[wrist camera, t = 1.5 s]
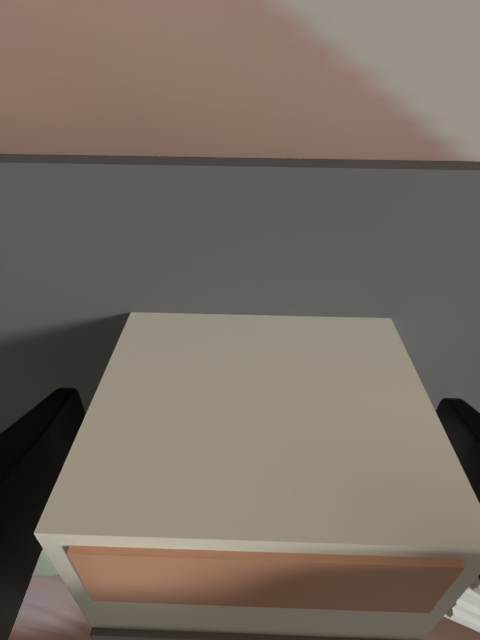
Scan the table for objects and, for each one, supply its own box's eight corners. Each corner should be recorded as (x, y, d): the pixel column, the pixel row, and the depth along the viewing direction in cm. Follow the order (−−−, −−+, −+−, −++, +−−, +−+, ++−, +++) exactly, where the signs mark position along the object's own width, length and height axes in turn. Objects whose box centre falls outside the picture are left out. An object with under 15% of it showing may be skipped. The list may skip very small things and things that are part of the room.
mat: (428, 562, 18) (436, 587, 17) (-38, 546, 18) (-52, 570, 17) (688, 165, 7) (740, 180, 7) (-386, 148, 8) (-459, 161, 7)
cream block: (358, 429, 11) (418, 655, 7) (151, 424, 12) (95, 642, 7) (390, 318, 9) (504, 558, 5) (130, 311, 9) (29, 542, 5)
